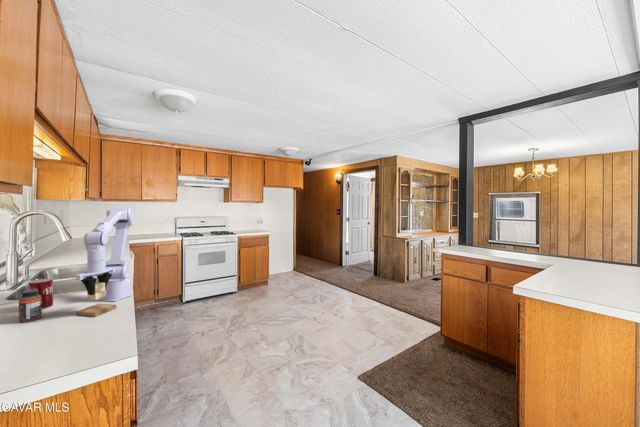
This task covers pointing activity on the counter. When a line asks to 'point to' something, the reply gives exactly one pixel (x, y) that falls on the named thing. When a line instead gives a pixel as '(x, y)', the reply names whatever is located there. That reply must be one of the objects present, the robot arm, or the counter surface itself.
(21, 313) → the supplement bottle
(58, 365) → the counter surface
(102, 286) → the beech block
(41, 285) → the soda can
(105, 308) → the base
